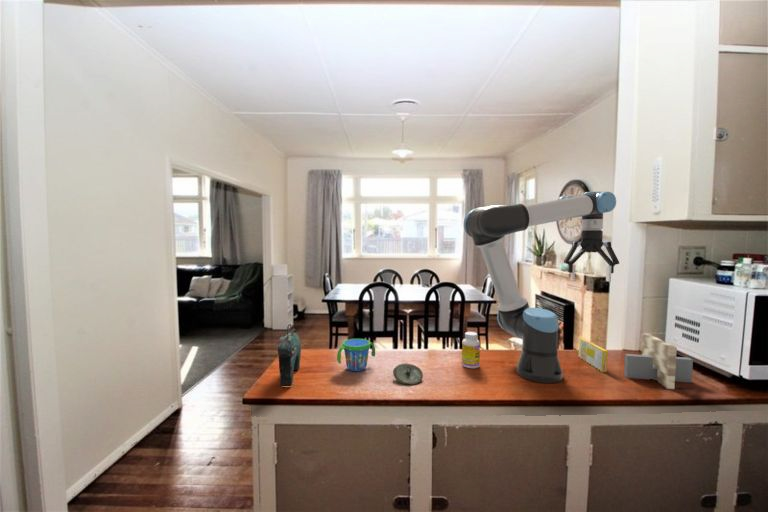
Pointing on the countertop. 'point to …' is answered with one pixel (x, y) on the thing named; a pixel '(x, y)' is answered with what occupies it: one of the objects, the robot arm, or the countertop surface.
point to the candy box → (593, 354)
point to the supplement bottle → (470, 350)
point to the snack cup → (356, 353)
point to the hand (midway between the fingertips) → (590, 281)
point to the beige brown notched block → (661, 359)
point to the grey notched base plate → (644, 368)
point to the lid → (407, 374)
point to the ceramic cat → (288, 356)
